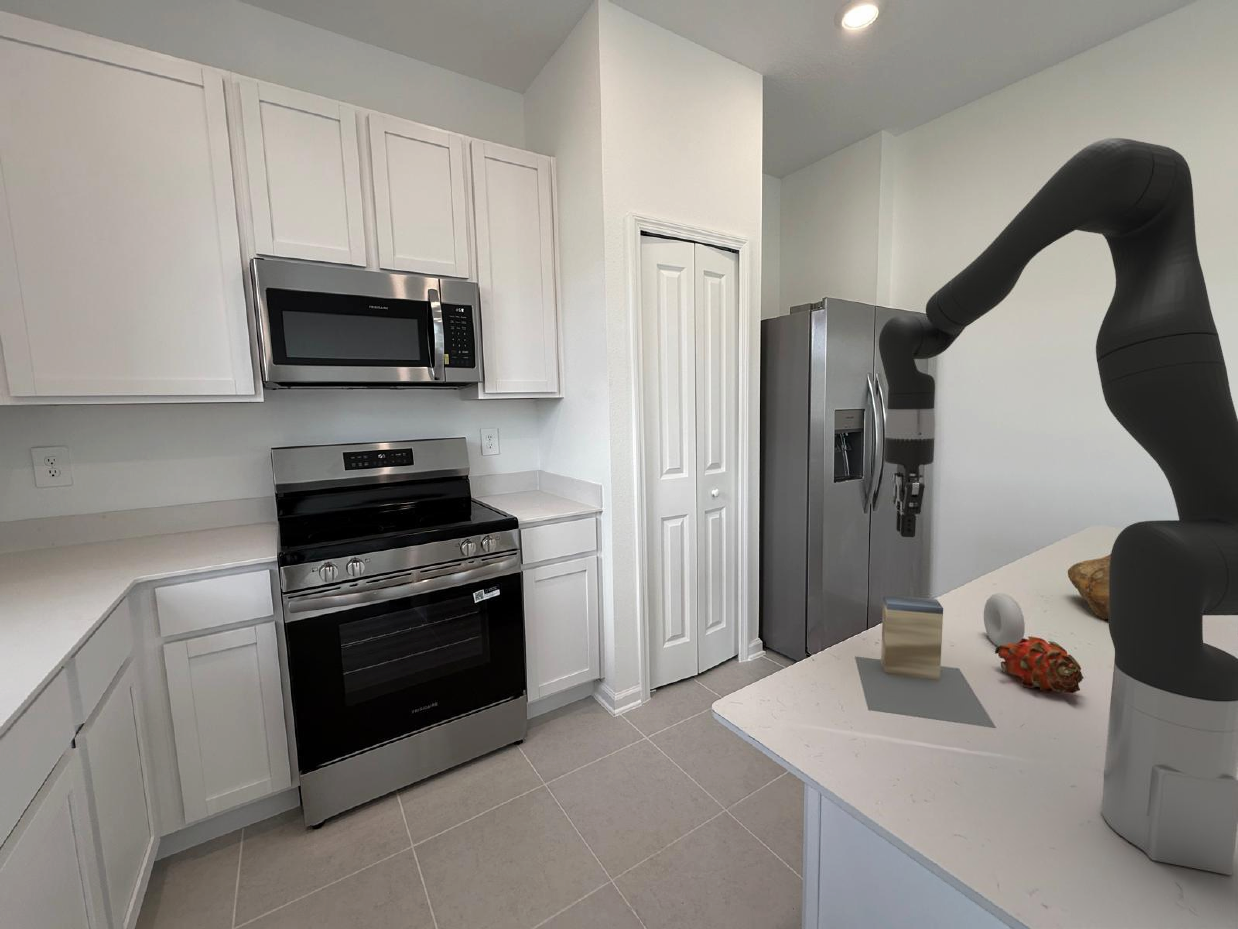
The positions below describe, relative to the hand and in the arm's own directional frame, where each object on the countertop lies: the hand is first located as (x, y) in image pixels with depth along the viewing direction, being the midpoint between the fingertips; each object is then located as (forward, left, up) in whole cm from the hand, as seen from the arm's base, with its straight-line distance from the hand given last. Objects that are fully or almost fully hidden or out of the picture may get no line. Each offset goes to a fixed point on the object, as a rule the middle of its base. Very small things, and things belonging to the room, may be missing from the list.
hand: (905, 533), depth 93 cm
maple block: (-8, 0, -22) cm, 23 cm away
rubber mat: (-13, 0, -22) cm, 26 cm away
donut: (+7, -18, -22) cm, 30 cm away
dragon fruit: (-7, -18, -22) cm, 29 cm away
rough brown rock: (+33, -47, -22) cm, 62 cm away
